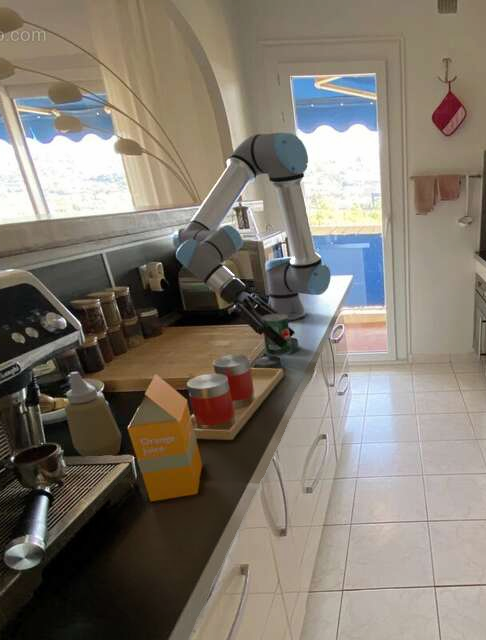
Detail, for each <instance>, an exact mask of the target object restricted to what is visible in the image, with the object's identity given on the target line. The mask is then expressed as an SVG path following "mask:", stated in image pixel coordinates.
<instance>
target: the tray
mask: <svg viewBox="0 0 486 640" xmlns="http://www.w3.org/2000/svg"><path fill="white" fill-rule="evenodd" d="M250 368H251V374H252V381H253V387H254V394H255V400H254V401H253V402H252V403H251V405H250V406H248V407H245V408H241V409H234V415H235V420H236V422H235V424H234V425H233V426H232V427H231V428H230V429H229V430H216V429H198V428H197V424H196V421H195V417H194V413H193V414H192V415H190V416H191V420H192V424H193V428H194V432H195V436H196V439H197V440H199V439H200V440H201V439H203V440H228V441H229V440H230V441H232V440H234V438H235V437H236V436H237V434H238V433H239V432H240V431H241V429H243V427H244V426H245V425H246V424H247V422H248V421H249V420H250V419H251V417H252V416H253V414H254V413H255V412H256V411H257V410H258V408H259V407H260V406H261V404H262V403H263V402H264V401H265V400H266V398H267V397H268V396H269V395H270V394H271V392H272V391H273V389H274V388H275V387H276V386H277V385H278V384H279V382H280V381H281V379H283V377H284V376H285V375H284V369H283V368H282V369H271V368H257V367H250Z"/></svg>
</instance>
